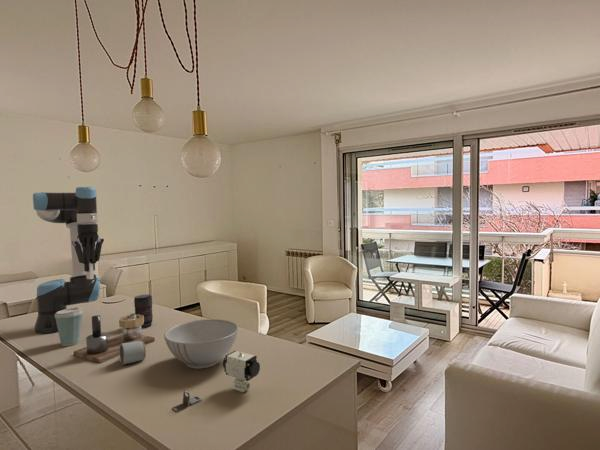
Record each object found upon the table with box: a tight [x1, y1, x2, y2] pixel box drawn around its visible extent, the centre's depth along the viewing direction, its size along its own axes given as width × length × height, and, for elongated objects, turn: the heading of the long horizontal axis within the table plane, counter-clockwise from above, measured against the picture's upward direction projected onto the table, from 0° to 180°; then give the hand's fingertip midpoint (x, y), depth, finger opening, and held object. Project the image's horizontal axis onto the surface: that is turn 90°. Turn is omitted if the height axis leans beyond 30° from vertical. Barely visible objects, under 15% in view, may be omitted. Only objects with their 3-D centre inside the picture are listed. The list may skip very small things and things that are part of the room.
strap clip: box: [171, 390, 203, 413], centre depth 108 cm, size 8×3×4 cm, turn 137°
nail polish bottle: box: [85, 314, 109, 355], centre depth 146 cm, size 7×7×14 cm
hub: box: [122, 317, 143, 341], centre depth 161 cm, size 7×7×8 cm
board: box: [73, 333, 156, 364], centre depth 154 cm, size 17×25×2 cm
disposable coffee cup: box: [55, 306, 84, 347], centre depth 160 cm, size 11×11×15 cm
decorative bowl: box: [163, 318, 239, 370], centre depth 138 cm, size 27×27×12 cm
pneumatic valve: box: [222, 350, 261, 393], centre depth 116 cm, size 6×12×12 cm, turn 58°
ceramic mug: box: [119, 341, 147, 366], centre depth 141 cm, size 11×8×8 cm
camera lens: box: [133, 294, 154, 329], centre depth 181 cm, size 8×8×15 cm
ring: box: [118, 312, 144, 329], centre depth 160 cm, size 9×9×4 cm
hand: (90, 278), depth 157 cm, fingers closed
